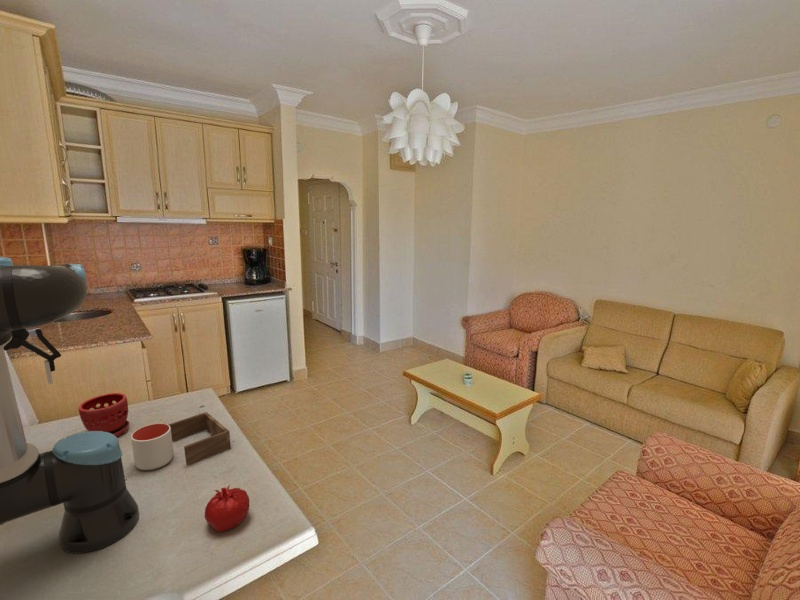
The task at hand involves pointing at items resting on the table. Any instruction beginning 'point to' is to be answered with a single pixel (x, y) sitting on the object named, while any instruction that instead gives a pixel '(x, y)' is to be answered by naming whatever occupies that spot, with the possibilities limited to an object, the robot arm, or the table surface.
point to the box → (204, 446)
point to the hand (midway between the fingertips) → (18, 390)
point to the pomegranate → (227, 508)
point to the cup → (152, 446)
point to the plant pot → (105, 414)
